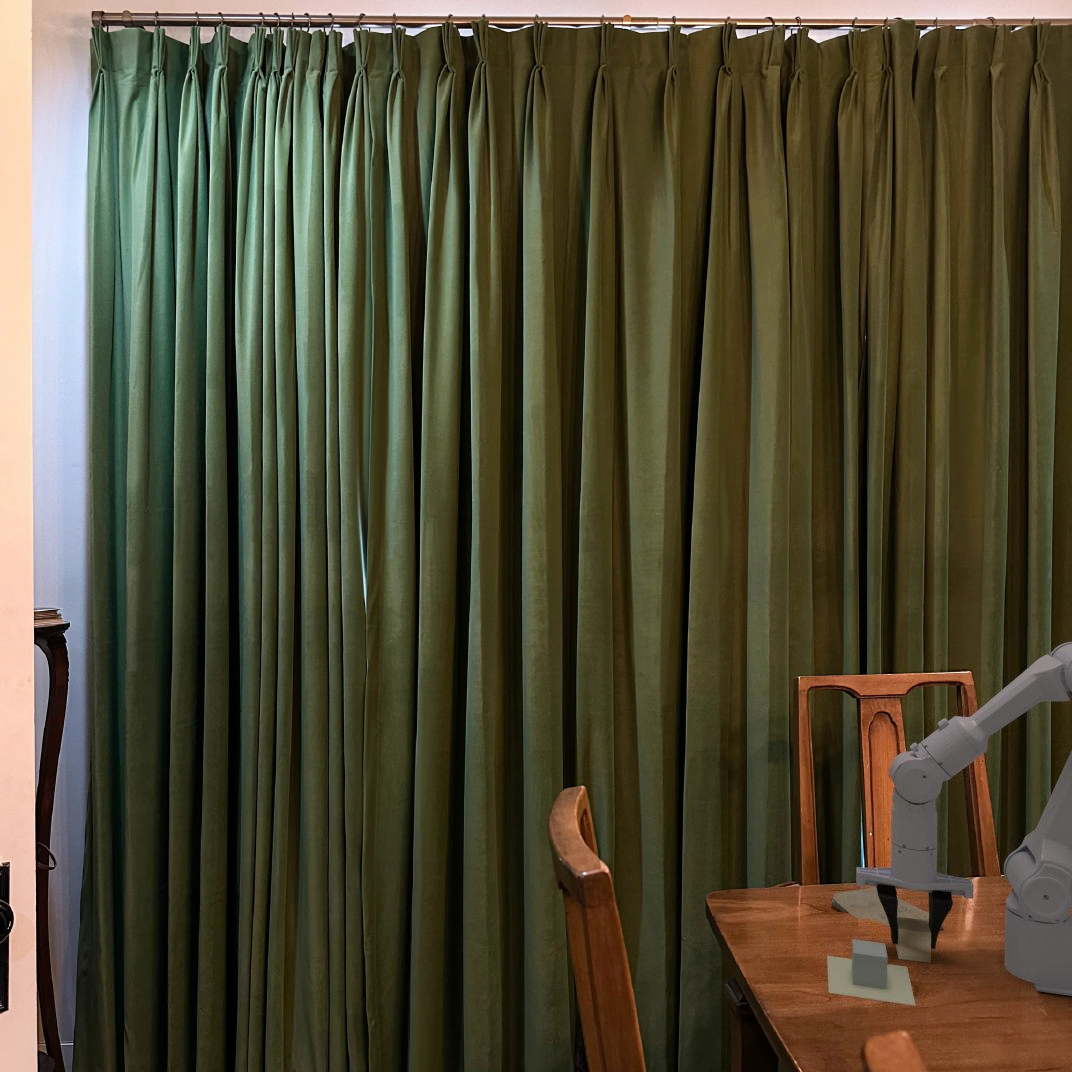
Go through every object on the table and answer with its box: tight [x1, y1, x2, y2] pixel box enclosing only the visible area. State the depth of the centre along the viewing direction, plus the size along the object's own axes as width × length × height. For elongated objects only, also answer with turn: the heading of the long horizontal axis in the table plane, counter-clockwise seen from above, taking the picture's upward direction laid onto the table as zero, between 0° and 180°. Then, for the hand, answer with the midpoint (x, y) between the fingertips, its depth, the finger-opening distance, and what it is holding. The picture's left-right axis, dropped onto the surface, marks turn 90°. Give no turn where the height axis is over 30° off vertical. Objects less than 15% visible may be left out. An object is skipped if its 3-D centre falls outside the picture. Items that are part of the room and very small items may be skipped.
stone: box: [830, 886, 945, 930], centre depth 136 cm, size 15×11×3 cm
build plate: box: [826, 955, 916, 1007], centre depth 116 cm, size 10×10×1 cm
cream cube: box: [895, 917, 932, 964], centre depth 123 cm, size 4×4×4 cm
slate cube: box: [851, 938, 889, 989], centre depth 116 cm, size 4×4×4 cm
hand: (912, 943), depth 123 cm, fingers closed on cream cube, 4 cm apart
